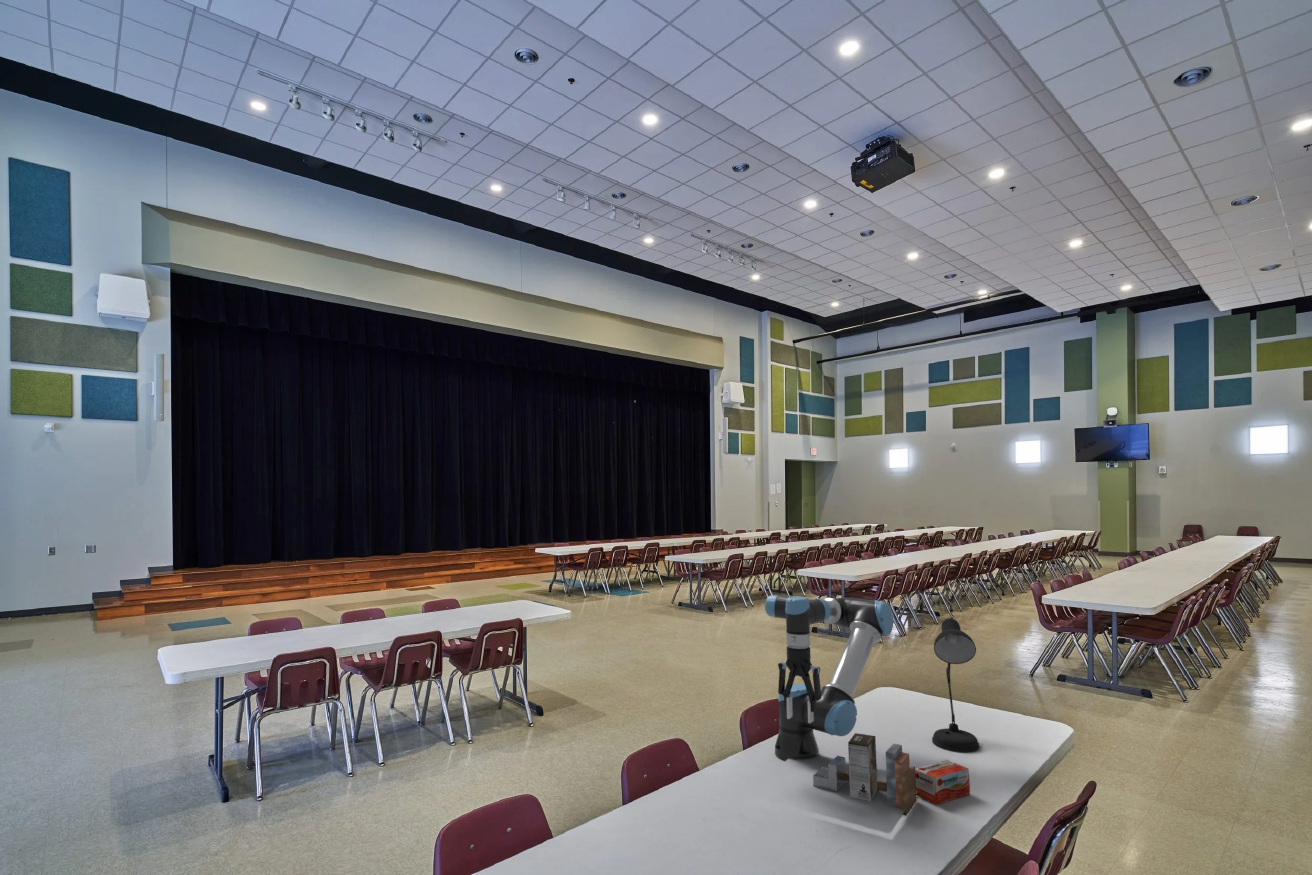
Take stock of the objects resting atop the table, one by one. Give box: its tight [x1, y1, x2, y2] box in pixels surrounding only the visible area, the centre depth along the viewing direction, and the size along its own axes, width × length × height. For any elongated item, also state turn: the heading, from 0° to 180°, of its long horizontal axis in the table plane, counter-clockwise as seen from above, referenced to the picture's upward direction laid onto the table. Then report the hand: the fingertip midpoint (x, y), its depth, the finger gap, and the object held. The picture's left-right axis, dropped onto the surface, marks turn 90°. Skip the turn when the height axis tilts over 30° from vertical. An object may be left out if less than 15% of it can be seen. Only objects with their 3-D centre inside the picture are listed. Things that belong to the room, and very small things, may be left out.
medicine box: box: [915, 759, 971, 806], centre depth 201 cm, size 15×8×8 cm, turn 118°
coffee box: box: [847, 732, 879, 802], centre depth 200 cm, size 9×6×16 cm
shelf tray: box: [820, 743, 917, 817], centre depth 201 cm, size 29×11×16 cm, turn 55°
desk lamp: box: [931, 617, 980, 753], centre depth 242 cm, size 24×26×45 cm
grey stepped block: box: [812, 755, 847, 793], centre depth 206 cm, size 8×8×8 cm
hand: (800, 719), depth 212 cm, fingers open, 6 cm apart
